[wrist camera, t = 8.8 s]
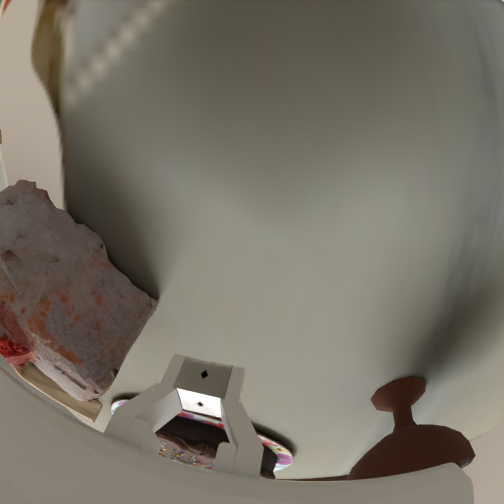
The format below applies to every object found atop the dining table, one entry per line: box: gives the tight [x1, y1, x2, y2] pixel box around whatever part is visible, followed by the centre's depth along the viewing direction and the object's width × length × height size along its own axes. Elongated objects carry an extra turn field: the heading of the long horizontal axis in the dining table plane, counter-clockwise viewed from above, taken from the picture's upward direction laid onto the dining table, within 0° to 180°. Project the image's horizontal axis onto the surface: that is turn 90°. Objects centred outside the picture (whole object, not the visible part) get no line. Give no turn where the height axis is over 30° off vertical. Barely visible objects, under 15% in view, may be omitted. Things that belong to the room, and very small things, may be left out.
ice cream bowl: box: [346, 377, 475, 481], centre depth 13 cm, size 11×11×15 cm
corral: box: [0, 130, 102, 422], centre depth 22 cm, size 40×19×4 cm, turn 176°
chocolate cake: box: [111, 399, 293, 479], centre depth 30 cm, size 28×28×7 cm
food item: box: [0, 180, 159, 402], centre depth 13 cm, size 14×8×10 cm, turn 47°
